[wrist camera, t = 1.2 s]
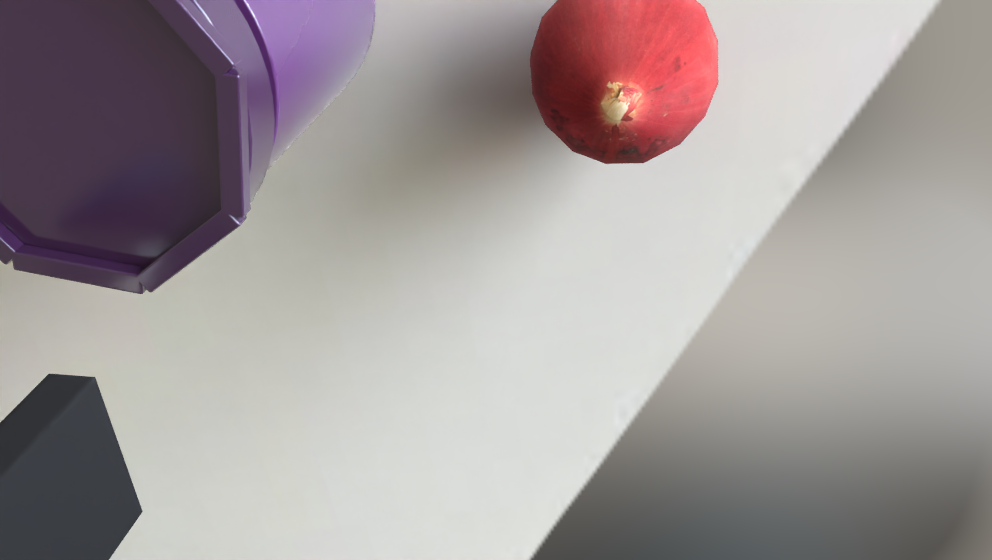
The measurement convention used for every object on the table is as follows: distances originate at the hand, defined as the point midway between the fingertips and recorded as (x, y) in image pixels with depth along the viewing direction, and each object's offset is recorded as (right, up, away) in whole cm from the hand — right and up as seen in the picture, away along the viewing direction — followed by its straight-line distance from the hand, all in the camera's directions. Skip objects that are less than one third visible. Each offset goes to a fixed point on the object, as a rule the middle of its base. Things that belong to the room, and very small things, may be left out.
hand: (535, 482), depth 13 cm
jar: (-9, +13, +20) cm, 25 cm away
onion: (+4, +11, +19) cm, 22 cm away
